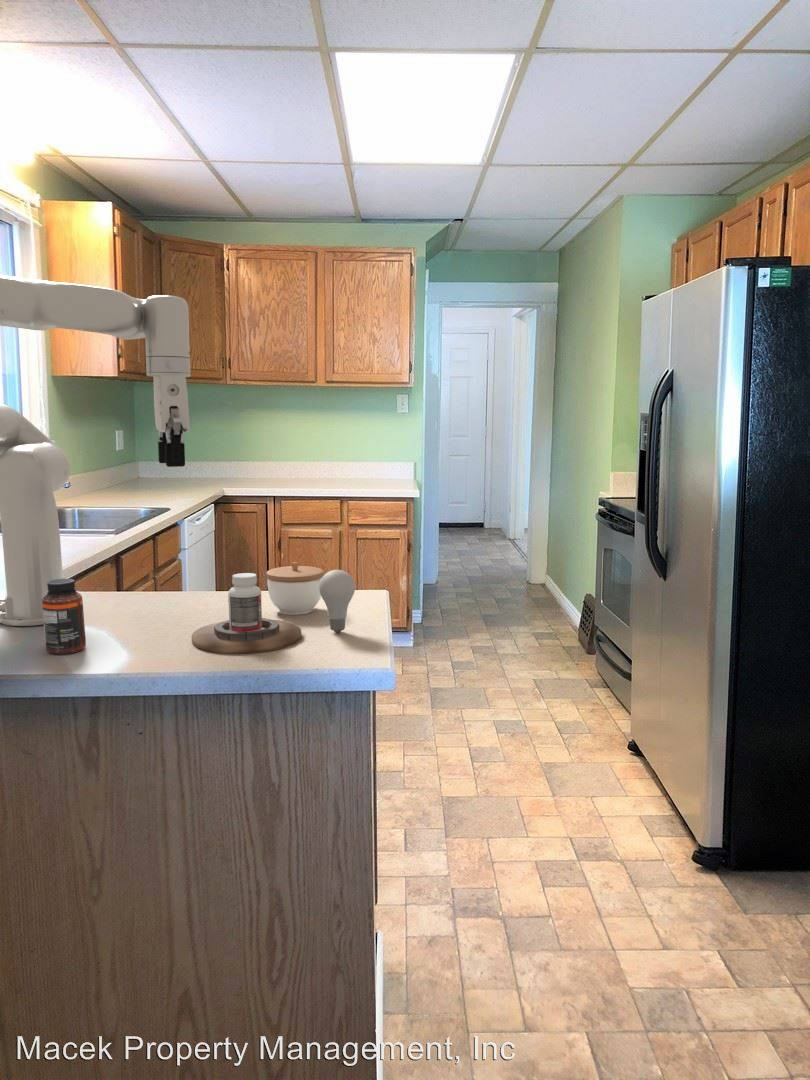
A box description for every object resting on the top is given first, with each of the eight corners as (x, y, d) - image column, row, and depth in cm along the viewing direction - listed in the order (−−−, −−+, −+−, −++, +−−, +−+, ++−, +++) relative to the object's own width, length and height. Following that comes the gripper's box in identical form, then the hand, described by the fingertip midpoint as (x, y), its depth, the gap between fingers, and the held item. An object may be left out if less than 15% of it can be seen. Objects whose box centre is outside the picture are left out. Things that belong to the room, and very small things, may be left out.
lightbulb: (323, 638, 138) (322, 574, 137) (316, 629, 144) (315, 567, 142) (359, 636, 140) (358, 572, 138) (351, 626, 146) (350, 565, 144)
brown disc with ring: (203, 659, 127) (202, 645, 127) (183, 631, 143) (182, 618, 143) (315, 645, 134) (315, 632, 134) (284, 620, 151) (284, 608, 150)
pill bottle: (267, 633, 138) (266, 575, 136) (237, 638, 135) (235, 579, 133) (254, 626, 142) (252, 570, 141) (224, 631, 139) (222, 574, 138)
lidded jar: (335, 610, 158) (335, 562, 156) (291, 621, 150) (290, 570, 149) (300, 601, 165) (298, 555, 164) (256, 611, 157) (254, 562, 156)
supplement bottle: (74, 642, 136) (69, 575, 134) (93, 649, 132) (89, 580, 131) (38, 651, 132) (33, 581, 130) (57, 658, 128) (52, 586, 126)
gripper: (198, 366, 141) (201, 467, 143) (182, 370, 156) (185, 461, 159) (152, 365, 138) (156, 468, 140) (141, 369, 153) (144, 462, 156)
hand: (171, 464), depth 150 cm, fingers open, 9 cm apart
